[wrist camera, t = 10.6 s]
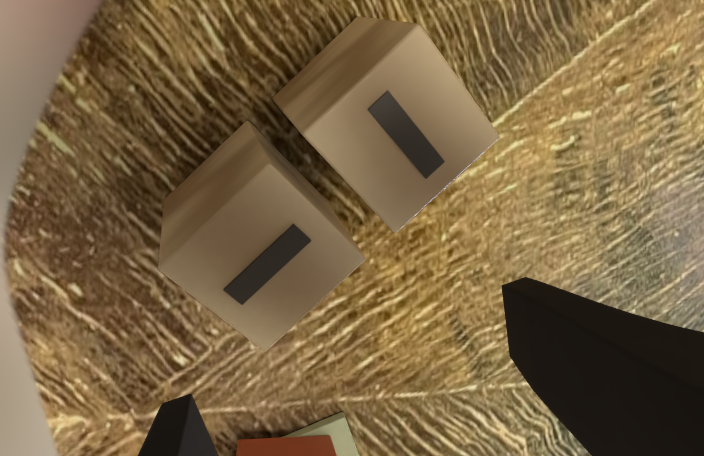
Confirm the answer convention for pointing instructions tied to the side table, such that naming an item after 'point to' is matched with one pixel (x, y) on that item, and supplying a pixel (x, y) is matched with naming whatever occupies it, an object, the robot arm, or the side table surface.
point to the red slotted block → (287, 446)
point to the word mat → (332, 434)
